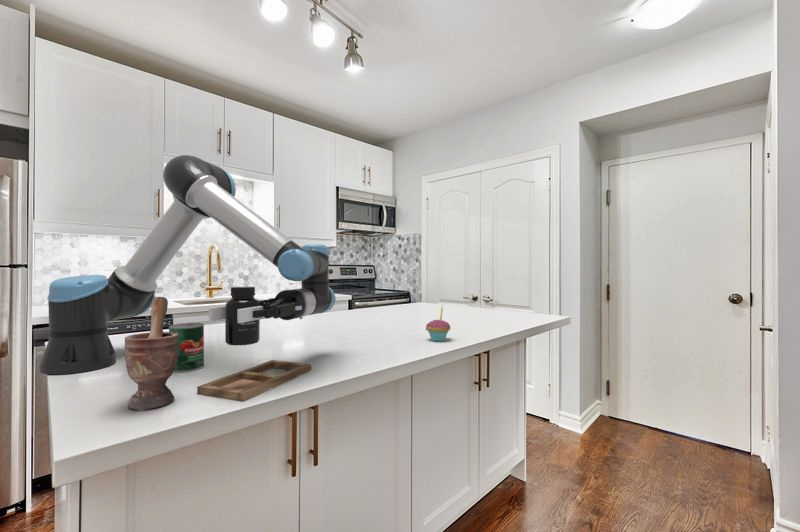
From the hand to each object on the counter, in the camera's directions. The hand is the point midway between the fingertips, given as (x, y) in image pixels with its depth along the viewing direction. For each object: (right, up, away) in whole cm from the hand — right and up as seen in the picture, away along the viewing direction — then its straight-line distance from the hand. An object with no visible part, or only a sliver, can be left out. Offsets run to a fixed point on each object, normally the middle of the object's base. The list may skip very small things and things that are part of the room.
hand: (224, 315), depth 77 cm
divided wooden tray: (+4, -16, +10) cm, 19 cm away
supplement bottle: (+2, -7, +5) cm, 8 cm away
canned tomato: (-19, -16, +21) cm, 32 cm away
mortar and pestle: (-13, -17, -3) cm, 21 cm away
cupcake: (+49, -16, +56) cm, 76 cm away
